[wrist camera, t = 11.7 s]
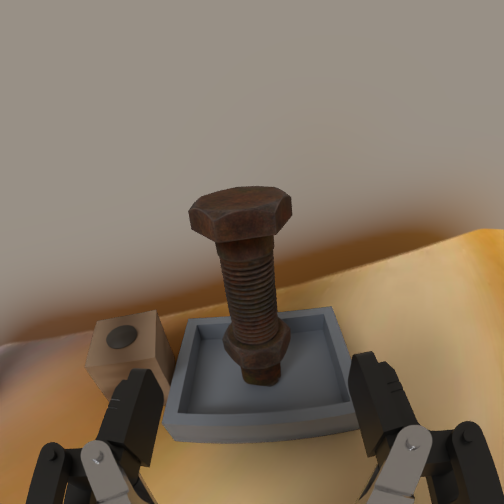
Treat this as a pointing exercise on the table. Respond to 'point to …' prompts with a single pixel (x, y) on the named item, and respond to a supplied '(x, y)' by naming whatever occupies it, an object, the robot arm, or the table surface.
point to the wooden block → (130, 351)
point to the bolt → (248, 273)
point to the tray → (261, 397)
